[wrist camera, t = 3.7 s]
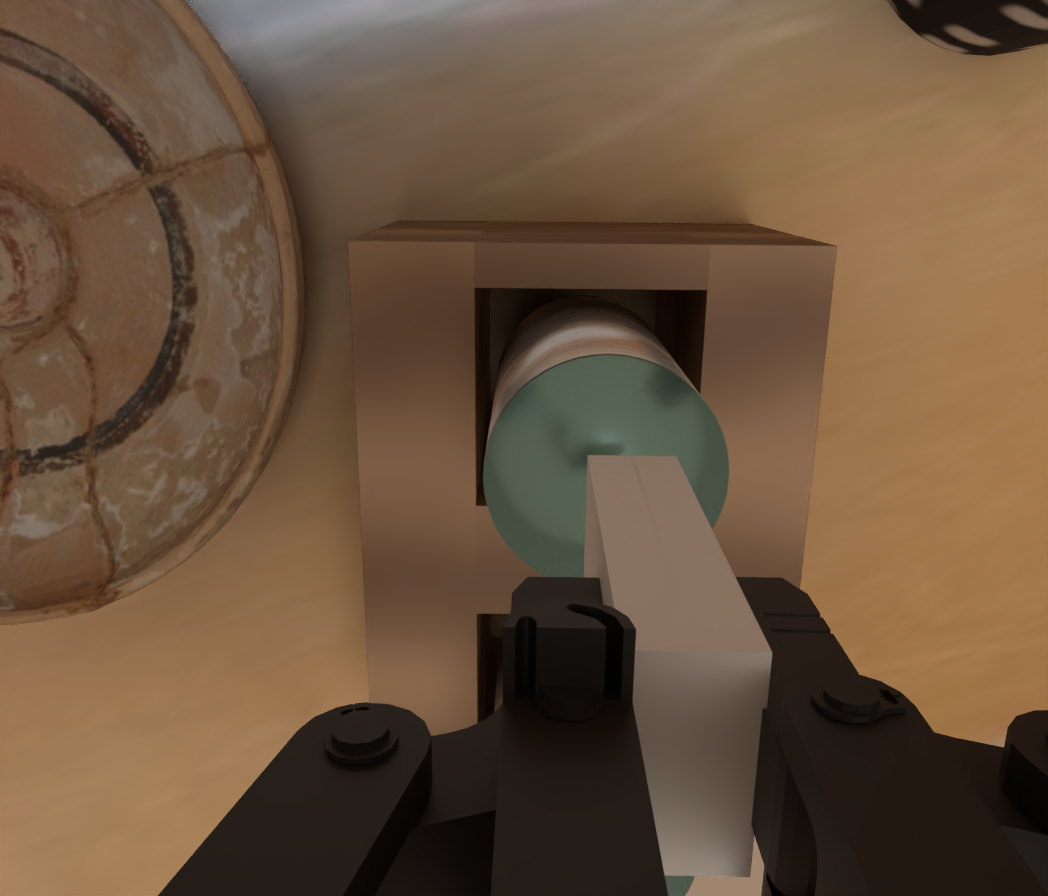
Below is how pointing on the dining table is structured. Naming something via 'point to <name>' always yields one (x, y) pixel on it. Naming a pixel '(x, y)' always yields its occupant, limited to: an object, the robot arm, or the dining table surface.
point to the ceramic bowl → (132, 298)
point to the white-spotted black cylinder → (978, 24)
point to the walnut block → (464, 417)
